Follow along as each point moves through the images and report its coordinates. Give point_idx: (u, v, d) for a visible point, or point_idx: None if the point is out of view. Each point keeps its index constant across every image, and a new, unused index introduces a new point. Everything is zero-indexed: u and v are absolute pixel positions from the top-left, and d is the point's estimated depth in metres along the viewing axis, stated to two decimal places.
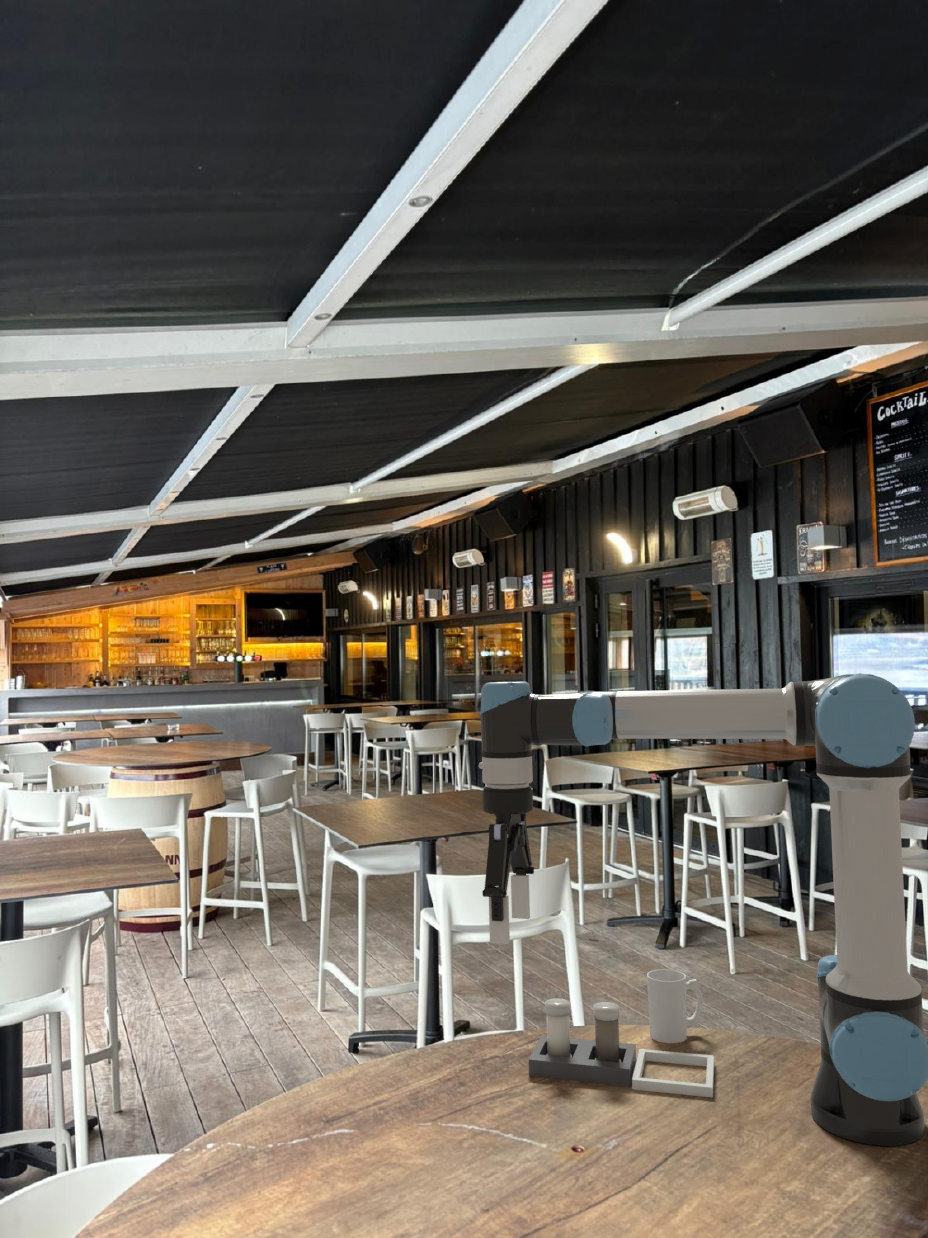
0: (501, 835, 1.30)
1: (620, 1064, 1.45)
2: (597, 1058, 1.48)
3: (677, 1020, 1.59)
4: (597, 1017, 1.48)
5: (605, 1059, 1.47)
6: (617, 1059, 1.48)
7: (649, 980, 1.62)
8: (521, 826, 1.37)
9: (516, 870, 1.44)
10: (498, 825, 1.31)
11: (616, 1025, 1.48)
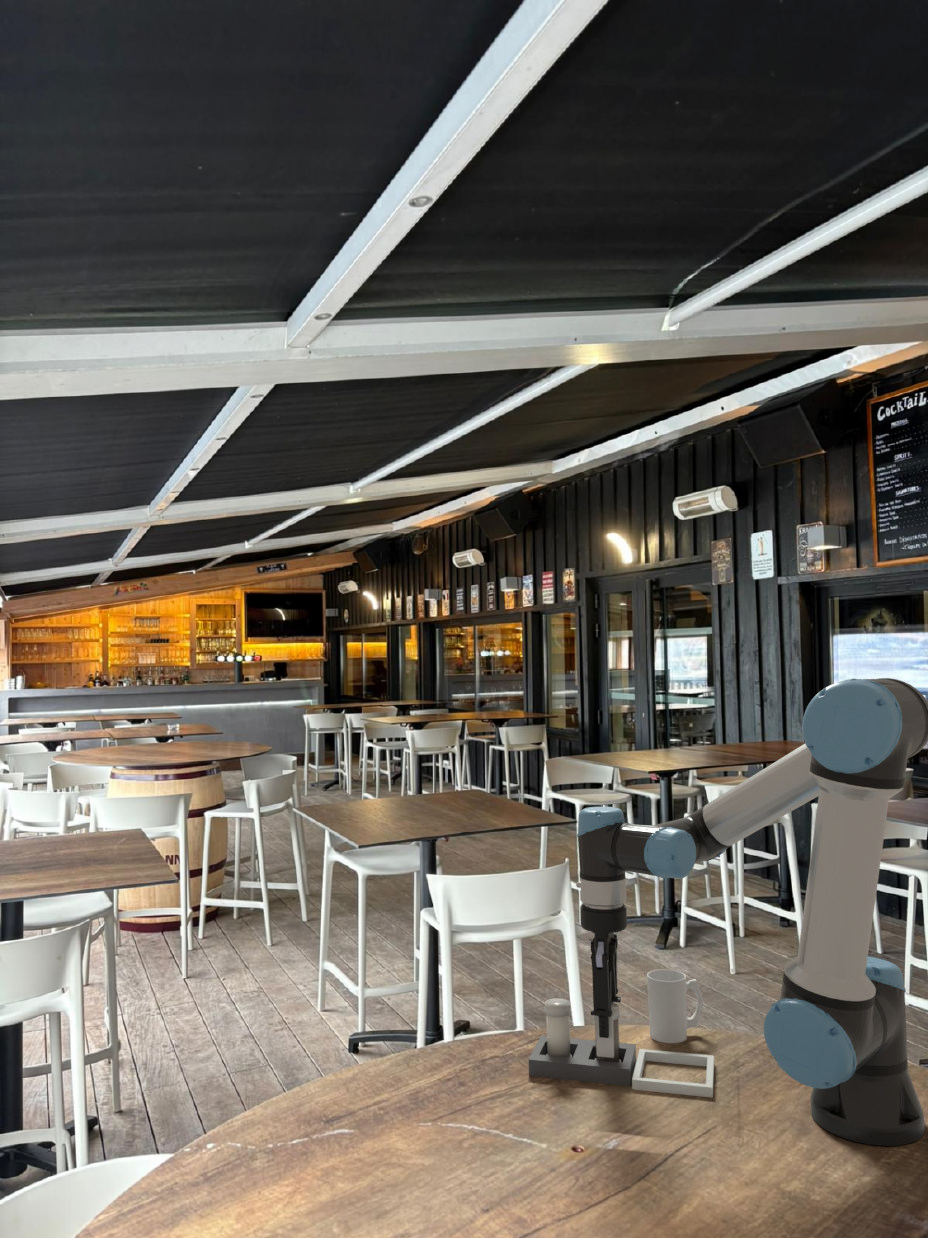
0: (603, 965, 1.44)
1: (620, 1064, 1.45)
2: (597, 1058, 1.48)
3: (677, 1020, 1.59)
4: None
5: (605, 1059, 1.47)
6: (617, 1059, 1.48)
7: (649, 980, 1.62)
8: (616, 939, 1.51)
9: None
10: (599, 956, 1.44)
11: (616, 1025, 1.48)
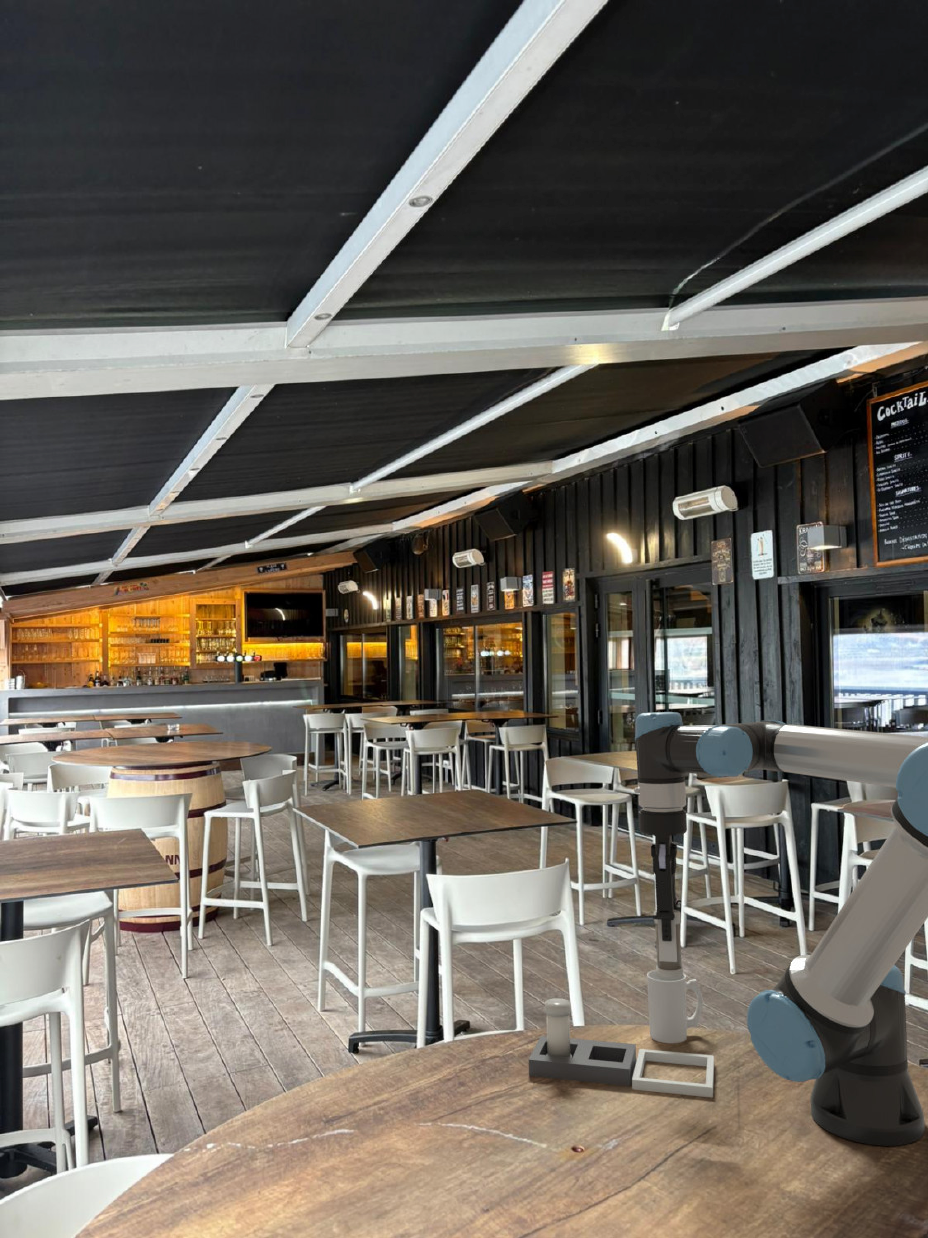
0: (666, 866, 1.42)
1: (620, 1064, 1.45)
2: (659, 964, 1.46)
3: (677, 1020, 1.59)
4: None
5: (667, 964, 1.45)
6: (679, 964, 1.46)
7: (649, 980, 1.62)
8: (675, 845, 1.49)
9: None
10: (662, 857, 1.42)
11: (678, 930, 1.46)
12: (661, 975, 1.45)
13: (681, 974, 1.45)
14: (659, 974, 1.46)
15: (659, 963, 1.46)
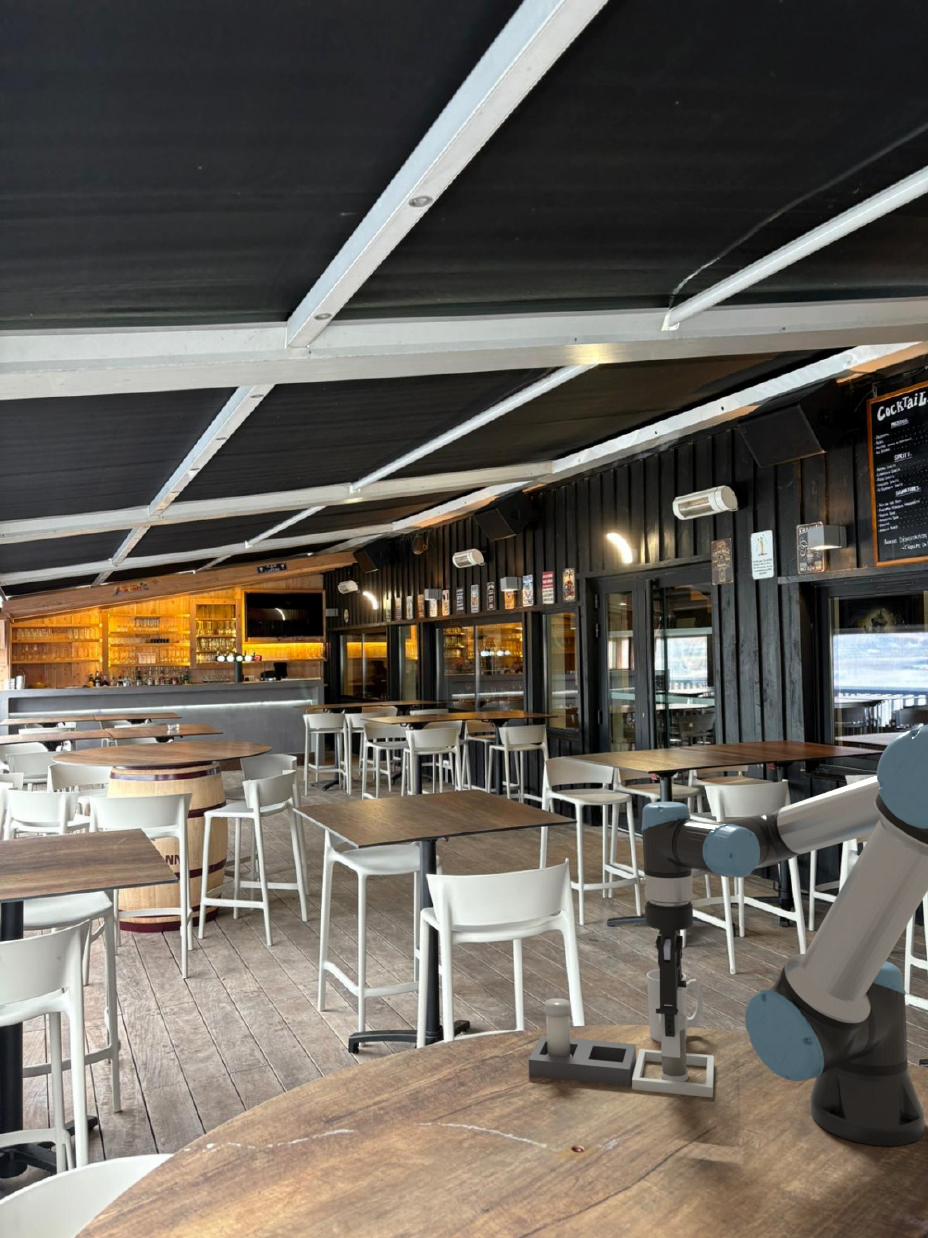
0: (671, 957, 1.41)
1: (620, 1064, 1.45)
2: (664, 1069, 1.45)
3: None
4: None
5: (672, 1070, 1.44)
6: (684, 1070, 1.45)
7: (649, 980, 1.62)
8: (681, 938, 1.48)
9: None
10: (667, 947, 1.41)
11: (683, 1036, 1.45)
12: None
13: None
14: (664, 1079, 1.45)
15: (664, 1068, 1.45)
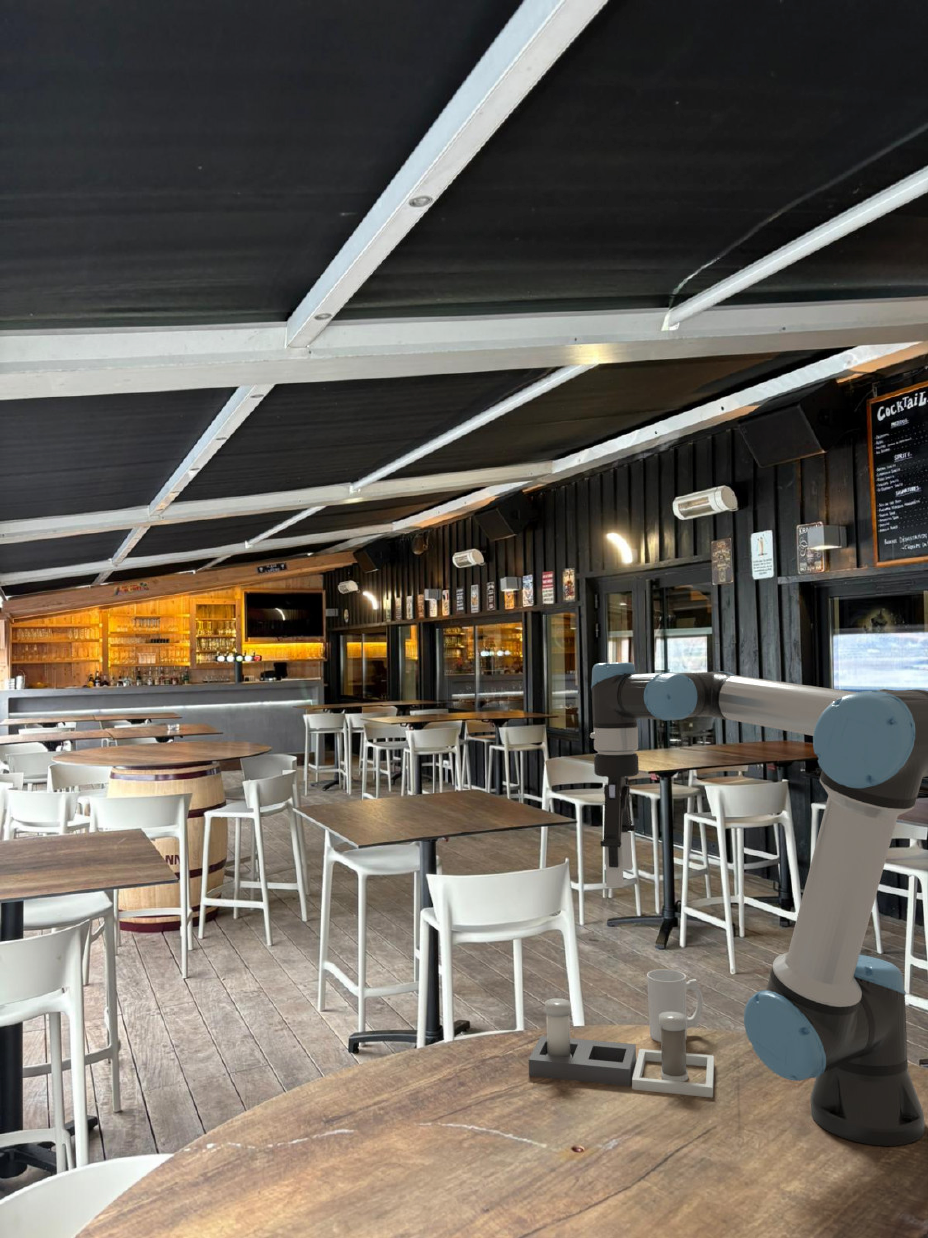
0: (615, 794, 1.51)
1: (620, 1064, 1.45)
2: (664, 1069, 1.45)
3: None
4: (664, 1027, 1.45)
5: (672, 1070, 1.44)
6: (684, 1070, 1.45)
7: (649, 980, 1.62)
8: (628, 788, 1.58)
9: None
10: (612, 785, 1.52)
11: (683, 1036, 1.45)
12: None
13: None
14: (664, 1079, 1.45)
15: (664, 1068, 1.45)
